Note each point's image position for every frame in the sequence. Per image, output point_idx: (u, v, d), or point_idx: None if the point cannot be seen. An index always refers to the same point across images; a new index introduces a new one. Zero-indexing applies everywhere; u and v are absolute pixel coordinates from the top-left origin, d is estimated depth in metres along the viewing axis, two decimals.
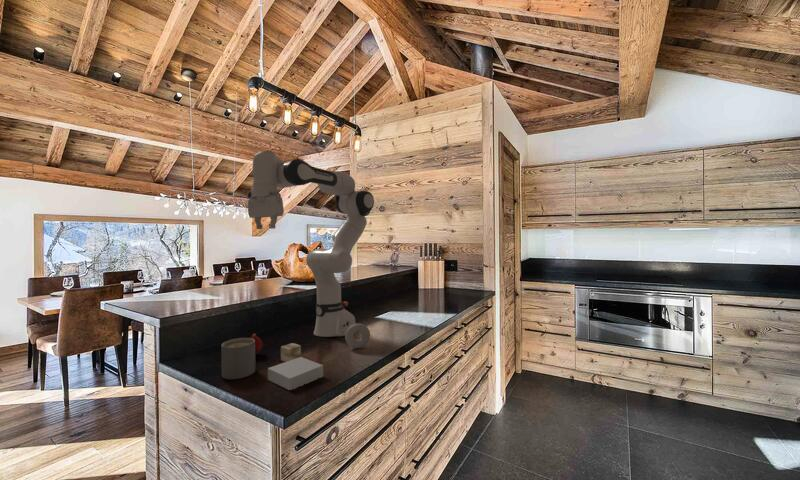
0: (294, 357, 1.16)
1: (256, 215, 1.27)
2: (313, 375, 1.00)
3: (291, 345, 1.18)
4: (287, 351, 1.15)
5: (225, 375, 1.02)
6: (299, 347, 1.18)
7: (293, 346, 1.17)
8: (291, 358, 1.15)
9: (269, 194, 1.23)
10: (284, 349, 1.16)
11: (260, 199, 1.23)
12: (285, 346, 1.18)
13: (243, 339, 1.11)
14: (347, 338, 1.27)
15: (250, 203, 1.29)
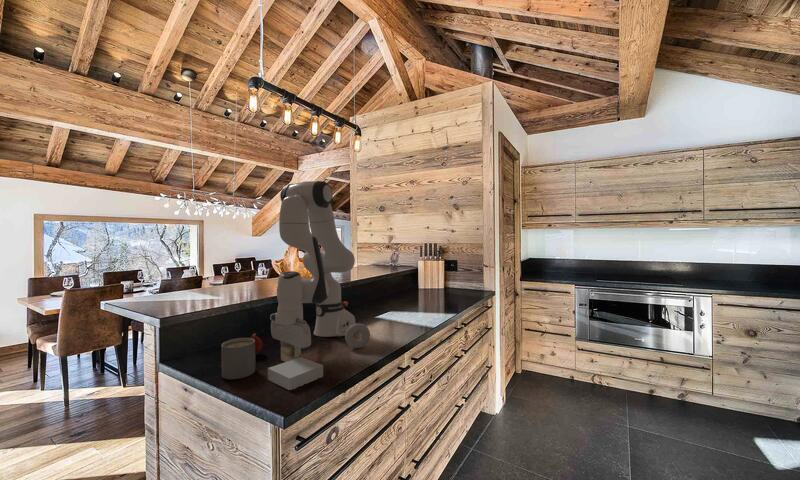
0: (294, 357, 1.16)
1: (280, 339, 1.19)
2: (313, 375, 1.00)
3: (291, 345, 1.18)
4: (287, 351, 1.15)
5: (225, 375, 1.02)
6: None
7: (293, 346, 1.17)
8: (291, 358, 1.15)
9: (295, 321, 1.15)
10: (284, 349, 1.16)
11: (285, 326, 1.15)
12: (285, 346, 1.18)
13: (243, 339, 1.11)
14: (347, 338, 1.27)
15: (273, 324, 1.21)
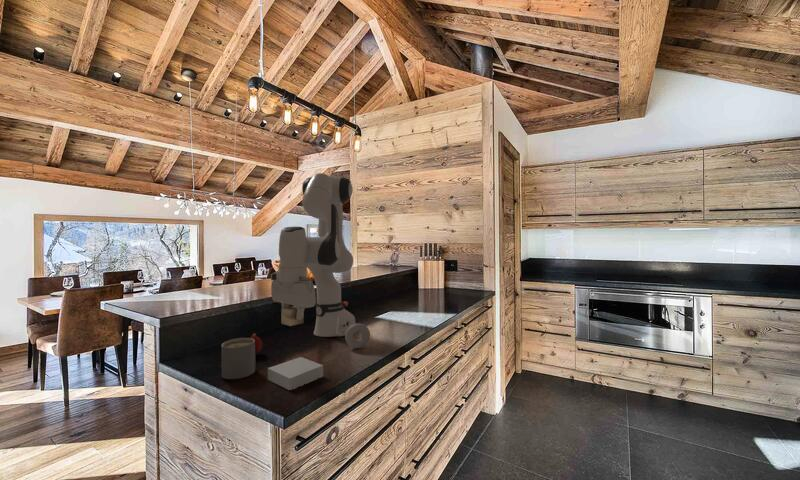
0: (296, 320, 1.05)
1: (281, 301, 1.07)
2: (313, 375, 1.00)
3: (293, 307, 1.07)
4: (288, 312, 1.03)
5: (225, 375, 1.02)
6: None
7: (296, 308, 1.06)
8: (293, 320, 1.04)
9: (298, 279, 1.03)
10: (285, 310, 1.04)
11: (287, 285, 1.03)
12: (286, 308, 1.06)
13: (243, 339, 1.11)
14: (347, 338, 1.27)
15: (274, 285, 1.09)
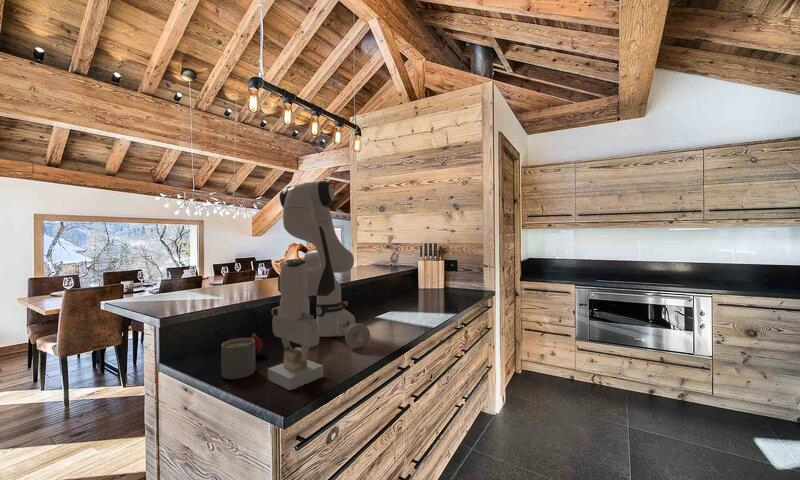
0: (299, 364, 1.01)
1: (283, 337, 1.03)
2: (313, 375, 1.00)
3: (296, 350, 1.03)
4: (291, 357, 0.99)
5: (225, 375, 1.02)
6: None
7: (298, 351, 1.02)
8: (296, 365, 1.00)
9: (301, 316, 0.99)
10: (288, 354, 1.01)
11: (289, 322, 0.99)
12: (289, 351, 1.02)
13: (243, 339, 1.11)
14: (347, 338, 1.27)
15: (276, 320, 1.05)
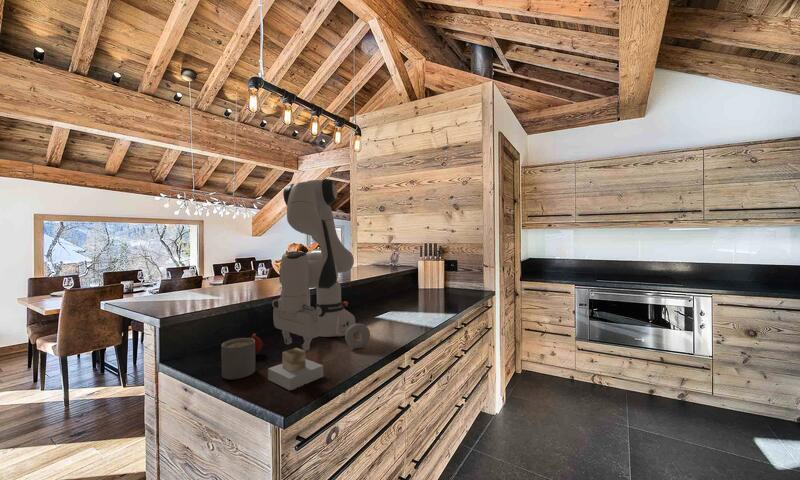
0: (298, 364, 1.00)
1: (284, 329, 1.03)
2: (313, 375, 1.00)
3: (295, 351, 1.02)
4: (290, 358, 0.99)
5: (225, 375, 1.02)
6: (303, 353, 1.02)
7: (297, 352, 1.01)
8: (294, 366, 0.99)
9: (302, 308, 0.99)
10: (286, 355, 1.00)
11: (290, 314, 0.99)
12: (287, 352, 1.02)
13: (243, 339, 1.11)
14: (347, 338, 1.27)
15: (276, 312, 1.05)
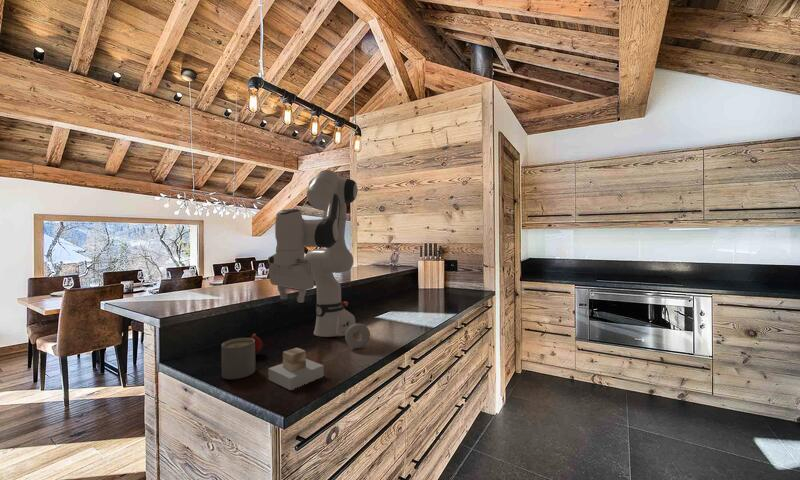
0: (298, 364, 1.01)
1: (280, 284, 1.07)
2: (313, 375, 1.01)
3: (295, 351, 1.03)
4: (290, 357, 0.99)
5: (225, 375, 1.02)
6: (304, 353, 1.02)
7: (297, 352, 1.02)
8: (294, 365, 1.00)
9: (296, 262, 1.03)
10: (286, 355, 1.00)
11: (285, 268, 1.03)
12: (288, 351, 1.02)
13: (243, 339, 1.11)
14: (347, 338, 1.27)
15: (272, 268, 1.09)
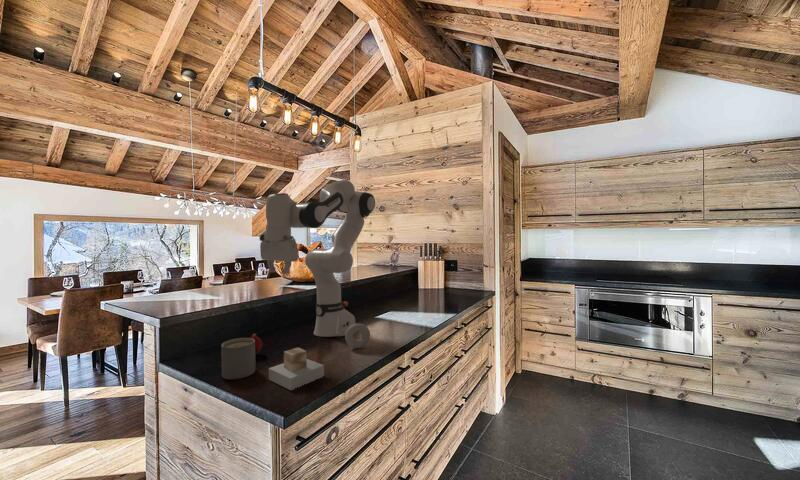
0: (298, 364, 1.00)
1: (269, 258, 1.23)
2: (314, 375, 1.01)
3: (296, 350, 1.03)
4: (290, 357, 0.99)
5: (225, 375, 1.02)
6: (304, 353, 1.02)
7: (298, 352, 1.02)
8: (295, 365, 1.00)
9: (283, 238, 1.19)
10: (287, 355, 1.00)
11: (274, 243, 1.19)
12: (289, 351, 1.02)
13: (243, 339, 1.11)
14: (347, 338, 1.27)
15: (263, 245, 1.25)
